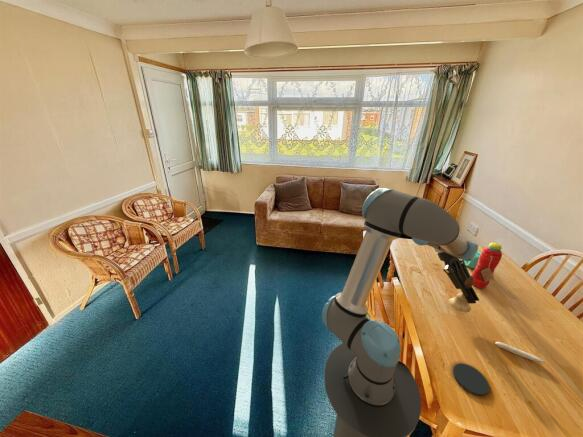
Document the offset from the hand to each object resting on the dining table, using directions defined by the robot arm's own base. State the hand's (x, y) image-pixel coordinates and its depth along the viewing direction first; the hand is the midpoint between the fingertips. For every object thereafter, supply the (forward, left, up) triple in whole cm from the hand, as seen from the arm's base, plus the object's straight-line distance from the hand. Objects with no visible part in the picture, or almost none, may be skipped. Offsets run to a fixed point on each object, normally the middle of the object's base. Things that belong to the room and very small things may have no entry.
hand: (474, 301), depth 97 cm
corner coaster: (-23, -20, -9) cm, 32 cm away
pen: (+3, -18, -10) cm, 21 cm away
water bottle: (+24, +14, -10) cm, 29 cm away
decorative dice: (+36, +25, -5) cm, 44 cm away
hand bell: (-1, +4, -6) cm, 7 cm away
